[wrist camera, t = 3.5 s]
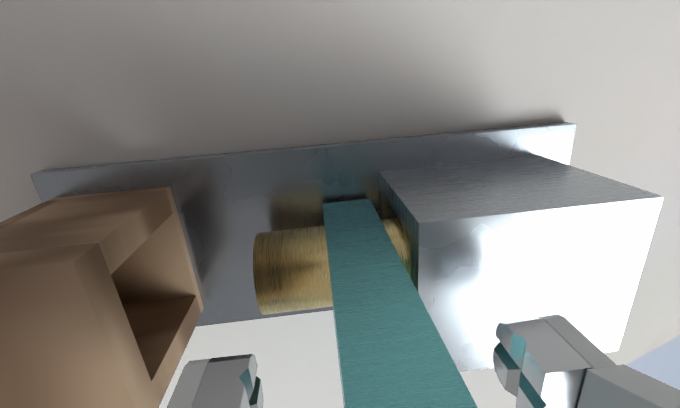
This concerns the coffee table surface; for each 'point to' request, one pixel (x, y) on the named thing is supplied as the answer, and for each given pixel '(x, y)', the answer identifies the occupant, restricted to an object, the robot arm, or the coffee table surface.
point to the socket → (94, 301)
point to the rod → (362, 306)
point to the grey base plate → (418, 224)
